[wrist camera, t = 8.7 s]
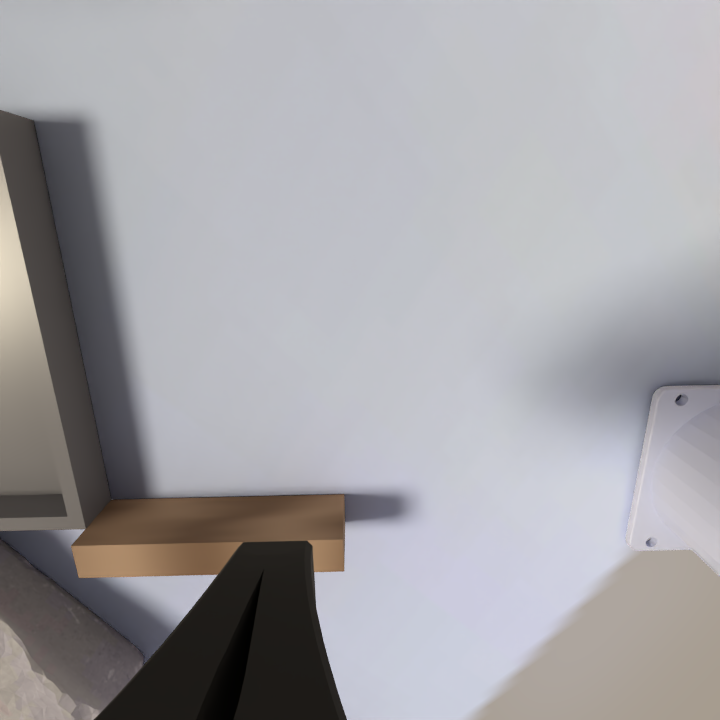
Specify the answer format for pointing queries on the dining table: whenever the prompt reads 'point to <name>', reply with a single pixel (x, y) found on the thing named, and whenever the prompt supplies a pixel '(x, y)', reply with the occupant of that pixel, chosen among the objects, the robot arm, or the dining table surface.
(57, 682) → the stone block
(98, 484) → the tray
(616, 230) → the dining table surface
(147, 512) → the pair of wooden bars
